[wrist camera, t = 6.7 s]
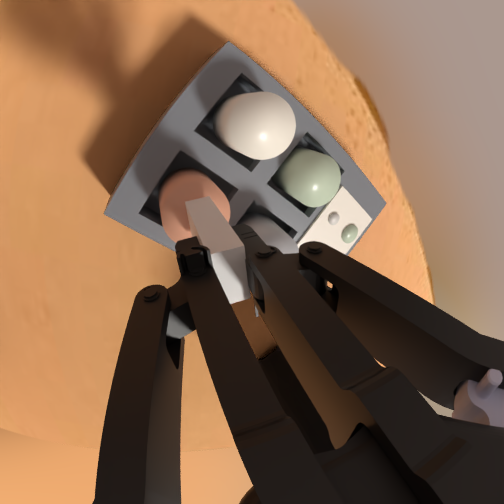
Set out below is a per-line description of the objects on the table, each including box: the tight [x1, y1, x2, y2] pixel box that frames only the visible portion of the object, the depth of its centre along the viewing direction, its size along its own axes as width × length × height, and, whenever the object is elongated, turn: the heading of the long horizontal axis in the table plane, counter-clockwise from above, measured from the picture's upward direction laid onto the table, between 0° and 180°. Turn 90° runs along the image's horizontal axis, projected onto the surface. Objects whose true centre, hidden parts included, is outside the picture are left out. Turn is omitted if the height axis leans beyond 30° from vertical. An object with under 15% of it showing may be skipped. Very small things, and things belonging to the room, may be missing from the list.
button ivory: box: [212, 92, 296, 160], centre depth 18 cm, size 4×4×4 cm
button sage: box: [271, 145, 341, 207], centre depth 23 cm, size 4×4×4 cm
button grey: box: [235, 213, 299, 254], centre depth 23 cm, size 4×4×4 cm
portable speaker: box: [258, 345, 335, 454], centre depth 33 cm, size 9×9×20 cm
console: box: [104, 41, 386, 256], centre depth 24 cm, size 22×15×5 cm
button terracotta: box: [158, 168, 230, 243], centre depth 19 cm, size 4×4×4 cm
